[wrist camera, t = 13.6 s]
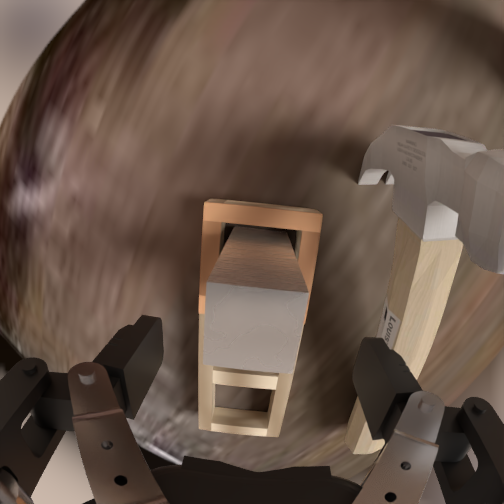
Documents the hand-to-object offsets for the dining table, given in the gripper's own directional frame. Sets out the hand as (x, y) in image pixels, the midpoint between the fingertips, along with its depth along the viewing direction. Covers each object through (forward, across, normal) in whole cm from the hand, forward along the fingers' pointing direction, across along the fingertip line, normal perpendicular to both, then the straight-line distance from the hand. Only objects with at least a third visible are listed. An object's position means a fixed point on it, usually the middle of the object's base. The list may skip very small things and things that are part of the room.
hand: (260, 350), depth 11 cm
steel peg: (+13, 0, 0) cm, 13 cm away
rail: (+13, 0, +7) cm, 15 cm away
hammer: (+13, -11, +4) cm, 18 cm away
